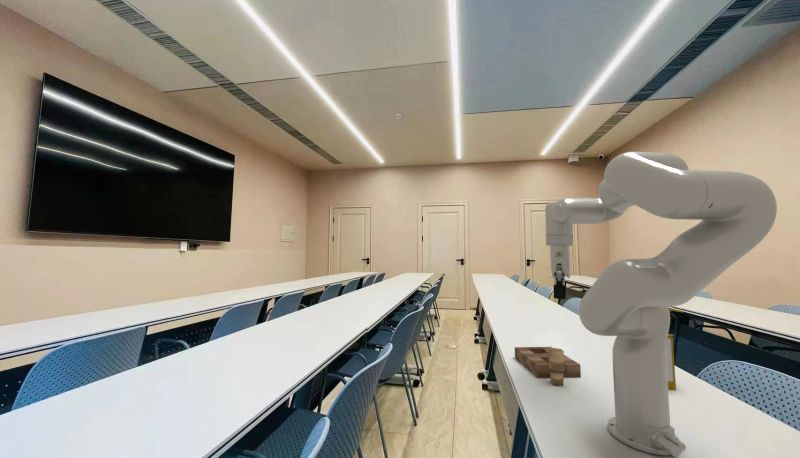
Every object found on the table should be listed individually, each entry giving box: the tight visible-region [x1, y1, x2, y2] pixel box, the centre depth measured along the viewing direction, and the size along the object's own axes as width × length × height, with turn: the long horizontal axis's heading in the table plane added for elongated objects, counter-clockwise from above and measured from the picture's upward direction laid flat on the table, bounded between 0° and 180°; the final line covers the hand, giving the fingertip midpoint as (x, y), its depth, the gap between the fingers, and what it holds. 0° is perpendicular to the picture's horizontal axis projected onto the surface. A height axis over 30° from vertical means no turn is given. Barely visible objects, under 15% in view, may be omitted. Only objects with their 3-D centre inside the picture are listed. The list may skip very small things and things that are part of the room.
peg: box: [548, 347, 565, 387], centre depth 94 cm, size 4×4×10 cm
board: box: [514, 346, 582, 379], centre depth 107 cm, size 18×14×4 cm
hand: (559, 296), depth 95 cm, fingers open, 9 cm apart
